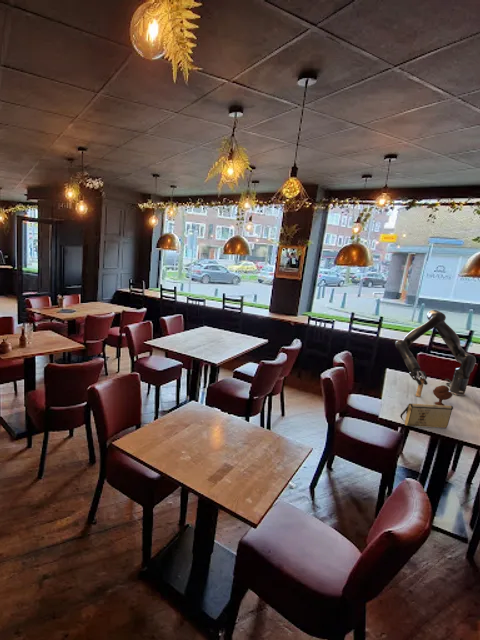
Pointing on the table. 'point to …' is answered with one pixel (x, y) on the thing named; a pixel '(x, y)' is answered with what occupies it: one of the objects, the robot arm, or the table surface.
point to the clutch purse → (427, 415)
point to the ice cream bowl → (442, 394)
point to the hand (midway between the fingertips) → (423, 384)
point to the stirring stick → (420, 388)
